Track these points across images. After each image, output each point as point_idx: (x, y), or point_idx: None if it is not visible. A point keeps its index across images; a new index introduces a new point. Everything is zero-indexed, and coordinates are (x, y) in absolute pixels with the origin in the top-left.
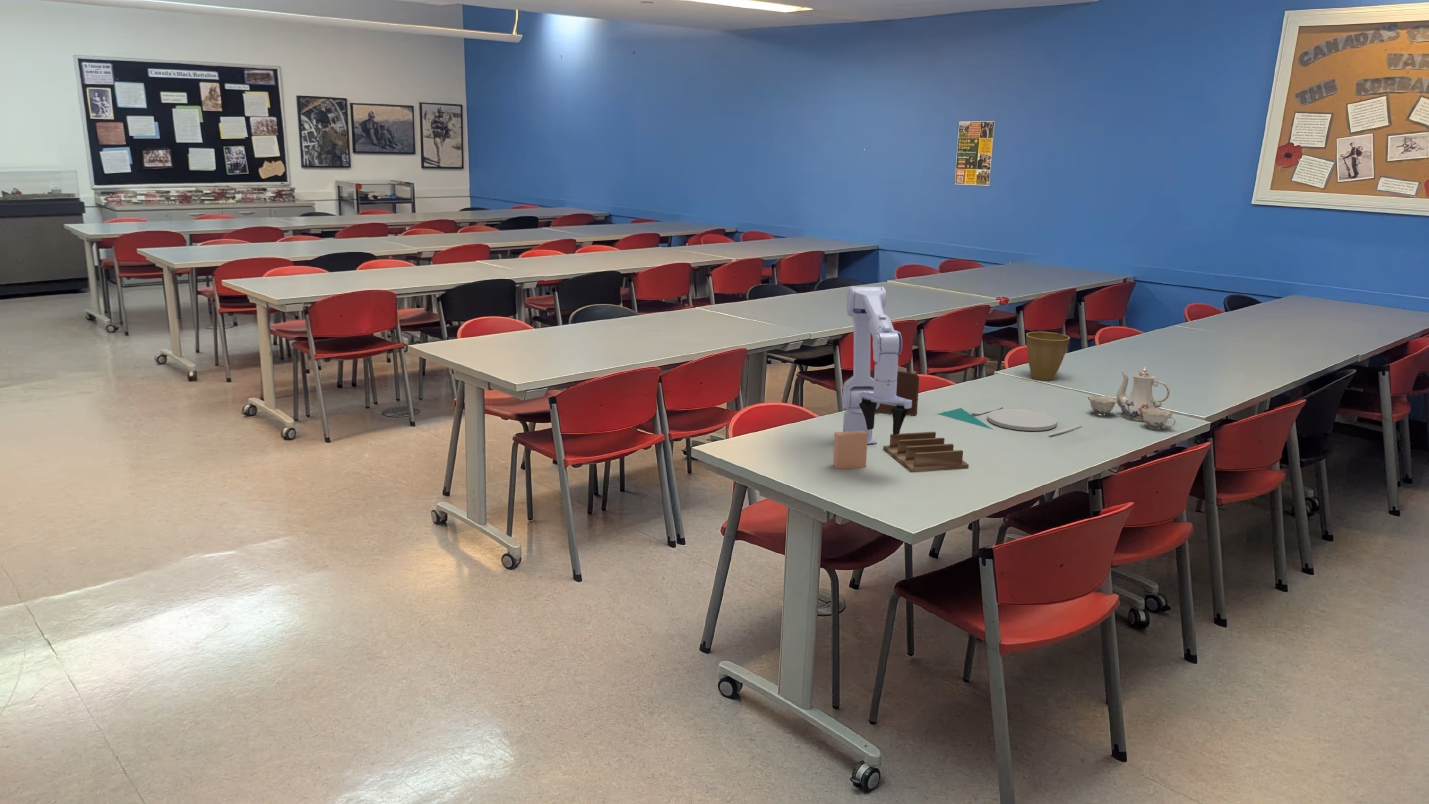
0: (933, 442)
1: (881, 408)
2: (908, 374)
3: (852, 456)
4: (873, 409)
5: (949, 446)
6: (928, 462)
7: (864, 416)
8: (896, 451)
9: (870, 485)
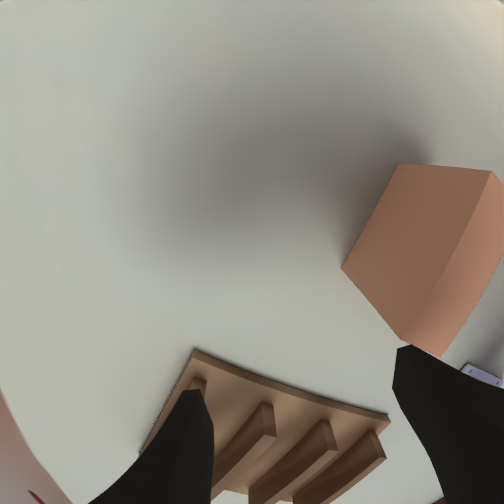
0: (264, 495)
1: None
2: None
3: (390, 227)
4: (454, 480)
5: None
6: None
7: (481, 382)
8: (336, 423)
9: (180, 115)
